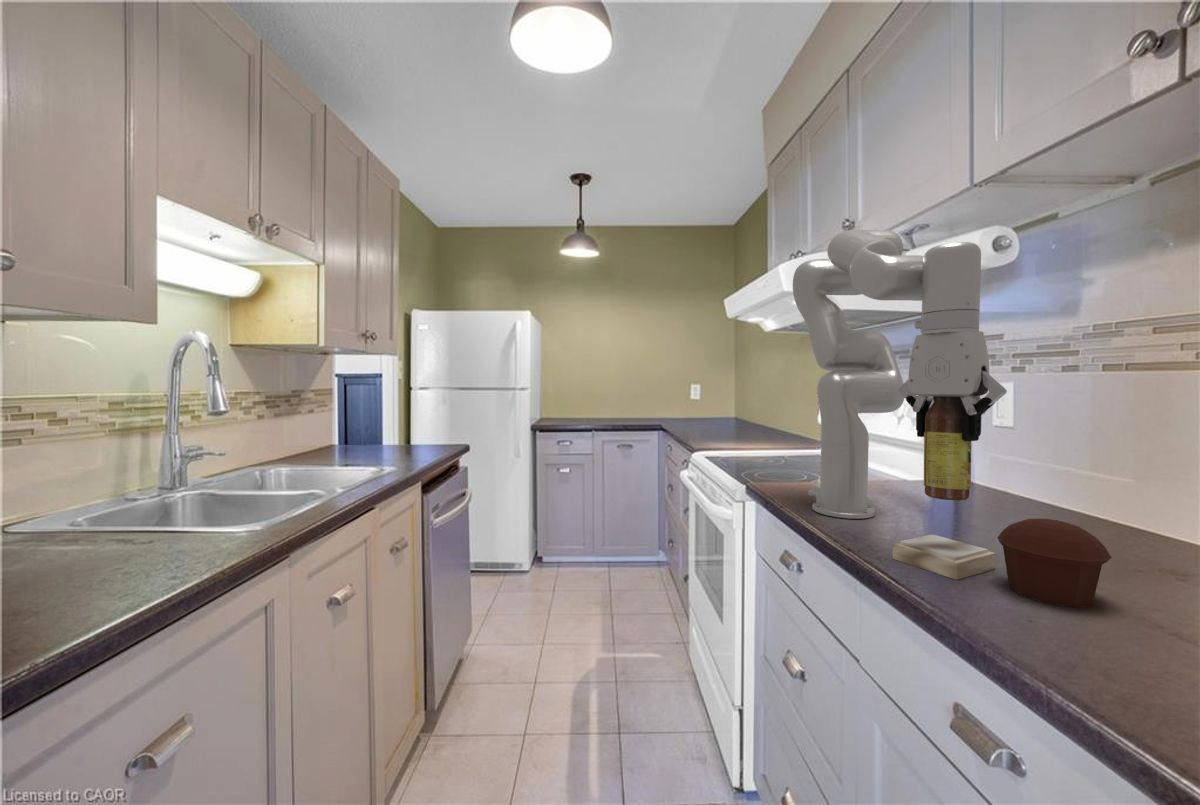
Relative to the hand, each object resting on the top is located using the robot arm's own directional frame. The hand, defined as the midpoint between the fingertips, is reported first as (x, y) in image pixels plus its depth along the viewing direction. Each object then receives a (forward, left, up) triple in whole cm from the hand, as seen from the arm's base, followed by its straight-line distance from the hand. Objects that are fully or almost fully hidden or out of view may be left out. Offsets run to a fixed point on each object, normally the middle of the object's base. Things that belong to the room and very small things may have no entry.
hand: (946, 437), depth 81 cm
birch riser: (0, 0, -20) cm, 20 cm away
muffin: (+13, +2, -21) cm, 25 cm away
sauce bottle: (0, 0, -10) cm, 10 cm away
